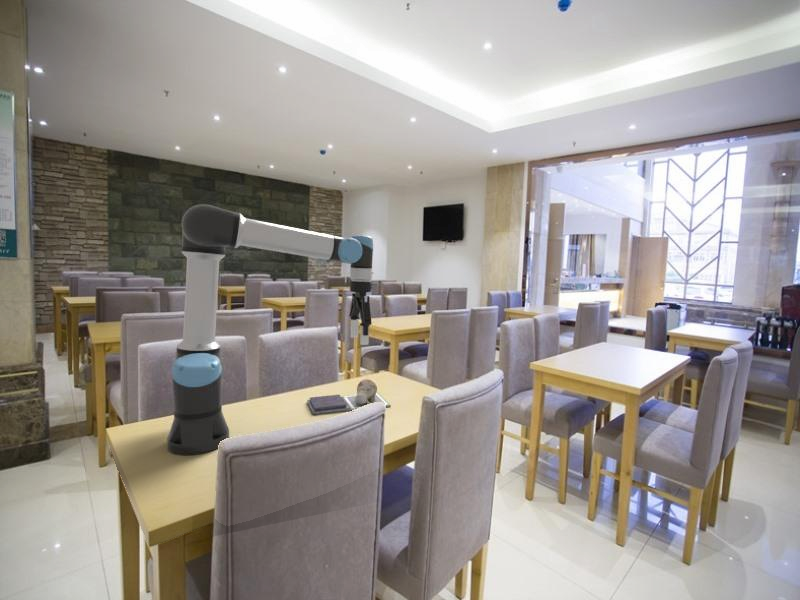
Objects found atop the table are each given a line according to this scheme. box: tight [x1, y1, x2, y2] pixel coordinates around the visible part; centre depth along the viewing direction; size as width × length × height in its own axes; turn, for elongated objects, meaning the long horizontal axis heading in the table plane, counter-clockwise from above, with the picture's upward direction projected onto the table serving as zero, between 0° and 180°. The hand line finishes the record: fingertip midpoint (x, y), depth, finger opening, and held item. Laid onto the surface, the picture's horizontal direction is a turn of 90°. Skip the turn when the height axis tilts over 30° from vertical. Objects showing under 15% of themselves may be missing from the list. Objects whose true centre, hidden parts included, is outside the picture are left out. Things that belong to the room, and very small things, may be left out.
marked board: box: [340, 392, 391, 411], centre depth 146 cm, size 14×14×1 cm
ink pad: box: [306, 394, 350, 415], centre depth 141 cm, size 12×12×2 cm
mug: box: [355, 378, 378, 405], centre depth 145 cm, size 8×10×10 cm
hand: (359, 341), depth 144 cm, fingers open, 13 cm apart
